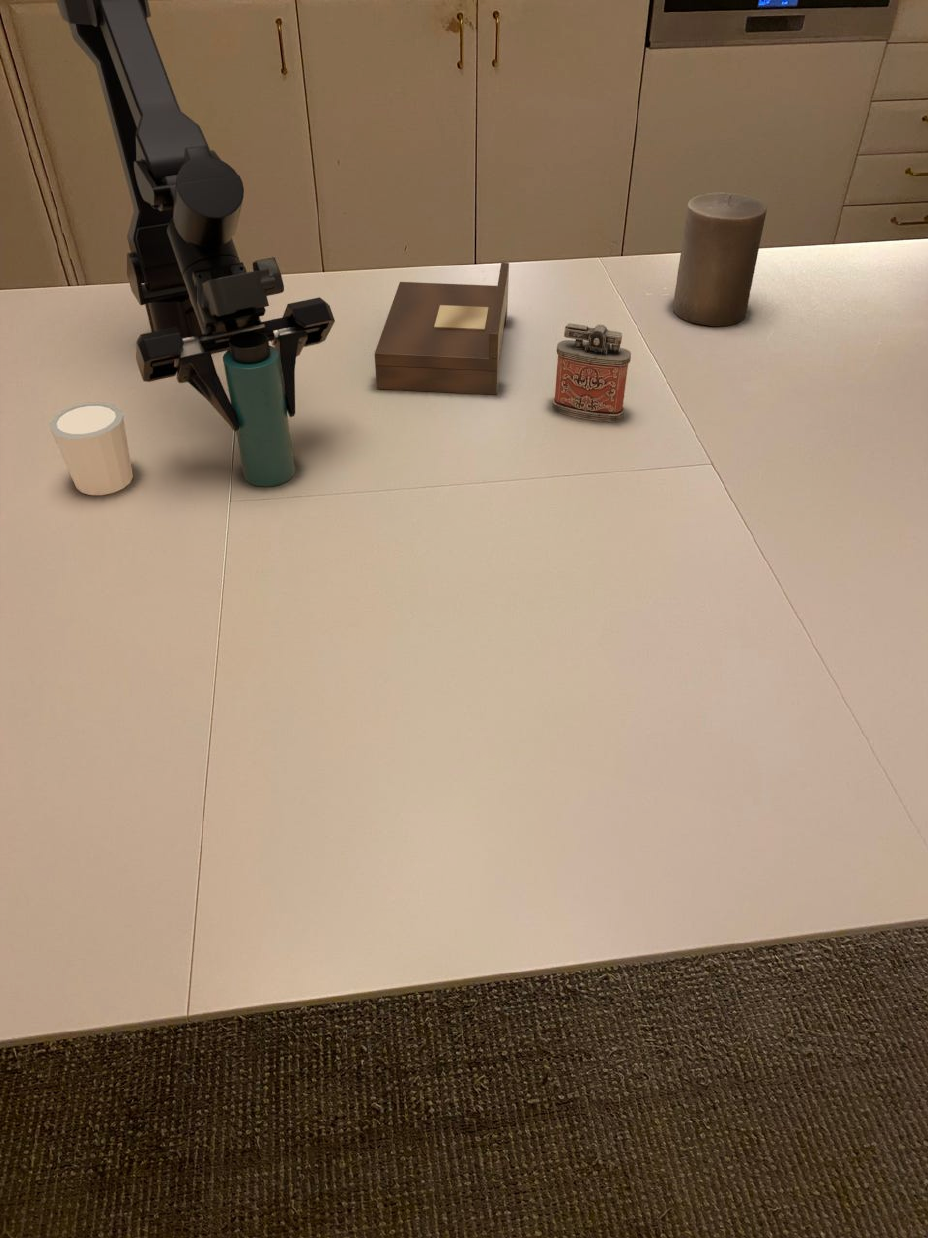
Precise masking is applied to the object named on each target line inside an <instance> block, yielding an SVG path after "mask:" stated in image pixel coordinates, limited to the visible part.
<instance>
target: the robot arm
mask: <svg viewBox="0 0 928 1238" xmlns="http://www.w3.org/2000/svg"><path fill="white" fill-rule="evenodd" d="M56 5H57V8H58V12H59V15H60V16H61V19H62V21H65V22H66V23H68V26H69V30H70V33H71V36H72V39H73V41H74V42H75V43H76V44H77V46H78V47H79V48H80V49H81V50H82V51H83V52H84V53H85V55H86V56H87V57H88V58H89V59H90V60H91V62H92V63H93V64H94V66H95V69H96V71H97V75H98V78H99V79H98V80H99V82H100V86H101V90H102V94H103V97H104V101H105V105H106V110H107V113H108V116H109V120H110V124H111V128H112V132H113V136H114V139H115V144H116V147H117V151H118V154H119V158H120V162H121V166H122V170H123V173H124V176H125V181H126V186H127V188H128V189H127V190H128V192H129V196H130V199H131V200H130V201H131V204H132V208H133V214H132V216H131V221H130V223H129V228H128V231H127V235H126V239H127V243H128V247H129V251H130V252H127V253H126V276H127V279H128V282H129V286H130V290H131V293H132V294H133V296H134V297H135V299H136V300H137V302H138V303H139V305H140V306H144V305H145V311H146V314H147V318H148V322H149V327H150V331H149V332H145V333H141V334H139V336H138V338H137V340H136V342H135V347H136V348H135V359H136V364H137V367H138V369H139V373H140V376H141V378H142V381H143V382H147V383H150V382H154V381H155V382H156V381H159V380H164V379H168V378H172V377H176V378H175V379H176V381H177V383H179V384H184V383H188V384H189V385H191V386H192V388H193V389H195V390H196V391H197V392H198V393H199V394H200V395H201V396H203V398H204V399H206V400H207V402H208V403H210V404H211V406H212V407H213V408H214V409H215V411H216V412H217V413H218V414H219V415H220V417H221V418H222V419H223V420H224V421H225V423H227V425H228V426H229V427H230V428H231V429H232V430H233V432H236V431H238V429H239V425H238V422H237V418H236V415H235V412H234V410H233V408H232V405H231V402H230V398H229V397H228V395H227V392H226V390H225V388H224V386H223V384H222V382H221V379H220V376H219V375H218V373H217V369H216V366H215V362H214V360H213V356H212V355H213V354H214V355H215V354H219V353H222V352H227V351H228V350H230V346H229V339H230V338H231V337H232V336H233V335H235V334H237V333H240V332H245V331H257V332H262V333H264V334H266V335H267V337H268V341H269V342H270V343H271V346H273V347H274V348H276V349H277V350H278V352H279V357H280V364H281V371H282V379H283V386H284V393H285V401H286V408H287V415H288V417H290V418H293V417H295V415H296V379H295V378H296V376H295V375H296V361H297V357H299V356H300V355H301V353H302V352H303V349H304V348H307V347H310V346H315V345H319V344H322V343H323V342H325V341H326V340H327V338H328V335H329V334H330V332H331V330H332V329H333V326H334V325H335V322H336V319H335V316H334V313H333V312H332V309H331V305H330V304H329V303H327V301H325V300H324V299H323V298H322V297H320V296H319V297H314V298H310V299H309V298H308V299H304V300H300V301H295V302H290V303H287V305H286V307H285V310H284V312H283V315H282V317H277V318H274V319H269V320H264V321H262V320H261V317H264V316H265V314H266V307H267V308H268V307H269V306H270V304H269V300H268V297H269V296H274V295H278V294H282V293H284V291H285V285H284V280H283V277H282V273H281V270H280V267H279V265H278V262H277V259H276V258H275V257H274V256H273V257H267V258H261V259H257V260H255V261H252V270H253V271H247V267H246V266H245V265H244V262H243V261H241V260H240V257H239V253H238V251H237V249H236V245H235V243H234V240H233V237H234V236H235V235H236V232H237V229H238V224H239V220H240V215H241V210H242V206H243V202H244V201H243V200H244V197H245V196H244V194H245V188H244V184H243V180H242V178H241V176H240V174H238V172H236V170H235V169H234V168H233V167H232V166H231V165H229V164H228V163H227V162H226V161H224V160H222V158H220V157H219V155H218V154H217V153H216V151H215V150H214V149H211V148H210V147H209V144H208V142H207V140H206V137H205V135H204V132H203V130H202V128H201V126H200V125H199V124H198V123H197V122H196V121H195V120H193V119H192V118H190V117H189V116H188V115H187V114H186V113H184V112H183V111H182V110H181V108H180V105H179V102H178V100H177V97H176V95H175V92H174V90H173V87H172V84H171V81H170V79H169V76H168V74H167V73H168V72H167V71H166V67H165V65H164V62H163V60H162V56H161V54H160V52H159V48H158V46H157V43H156V40H155V38H154V35H153V32H152V30H151V26H150V25H149V22H148V18H151V17H152V13H151V9H150V5H149V0H56Z"/></svg>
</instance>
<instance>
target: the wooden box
mask: <svg viewBox="0 0 928 1238" xmlns="http://www.w3.org/2000/svg"><path fill="white" fill-rule="evenodd" d="M509 277H510V262H500V268H499V273H498V279H497V285H488V284H463V283H441V282H417V281H416V282H415V281H413V282H412V281H399V283H398V285H397V289H396V292H395V295H394V297H393V300H392V303H391V305H390V309H389V311H388V314H387V317H386V319H385V323H384V325H383V328H382V331H381V334H380V337H379V339H378V342H377V345H376V348H375V351H374V366H375V383H376V389H377V390H391V391H393V390H394V391H411V392H412V391H414V392H432V393H434V392H436V393H451V394H452V393H455V394H472V395H473V394H475V395H476V394H477V395H492V396H493V395H495V396H496V395H497V394H498V388H499V361H500V355H501V348H502V342H503V334H504V328H505V327H507V324H508V323H507V322H508V307H509V281H510V280H509Z"/></svg>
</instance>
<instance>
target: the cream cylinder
mask: <svg viewBox="0 0 928 1238" xmlns="http://www.w3.org/2000/svg"><path fill="white" fill-rule="evenodd" d="M49 429H50V432H51V434H52V437H53V439H54V442H55V444H56V445H57V448H58V450H59V452H60V455H61V457H62V459H63V461H64V464H65V466H66V468H67V470H68V473H69V474H70V477H71V479H72V481H73V483H74V487H75V489H76V490H78V491H79V492H80V493H81V494H85V495H89V496H105V495H110V494H114V493H117V492H119V491H121V490H123V489H125V488H126V487H127V486H129V484H131V482H132V480H133V477H134V474H133V469H132V462H131V457H130V451H129V445H128V437H127V432H126V426H125V420H124V415H123V411H122V409H120V408H119V407H118V406H116V405H115V404H110V403H107V402H86V403H80V404H75V405H73V406H70V407H68V408H67V407H66V408H65V409H63V410H61V411H60V412H58V413H57V414H55V415H54V416H53V417H52V419H50V422H49Z"/></svg>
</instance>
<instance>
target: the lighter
mask: <svg viewBox="0 0 928 1238" xmlns="http://www.w3.org/2000/svg"><path fill="white" fill-rule="evenodd" d="M563 334H564V335H563V337H564V338H566V339H568V340H566V339H564V340H561V341H559V342H558V343H557V345H556V354H557V364H556V375H555V376H556V377H555V389H554V397H553V399H552V410H553V411H554V412H556V413H558V414H563V415H566V416H570V417H574V418H579V419H583V420H592V421H597V422H610V423H616V422H619V421H621V420H622V419H623V418H624V411H625V408H624V400H625V392H626V385H627V376H628V368H629V364H630V363H631V359H632V352H631V351H630V350H628V349H627V348H625V347H621V344H622V339H623V333H622V332H621V331H615V330H608V328H607V327H606V326H605V324H597V325H595V327H590V326H589V325H584V324H578V323H572V322H571V323H570V322H569V323H567V324H565V326H564V332H563ZM571 339H572V340H571Z"/></svg>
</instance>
